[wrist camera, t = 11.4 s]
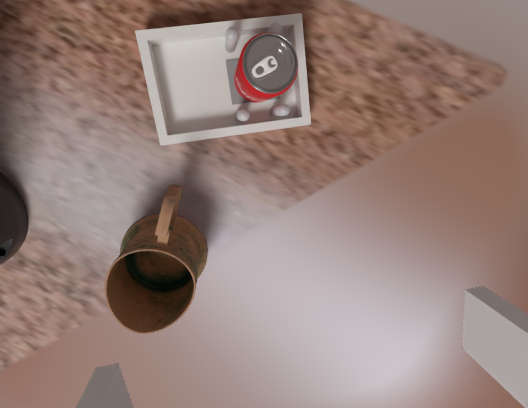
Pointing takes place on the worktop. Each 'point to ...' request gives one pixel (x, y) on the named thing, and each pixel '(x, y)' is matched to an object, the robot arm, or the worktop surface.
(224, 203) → the worktop surface
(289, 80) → the beverage can
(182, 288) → the mug
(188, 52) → the tray
